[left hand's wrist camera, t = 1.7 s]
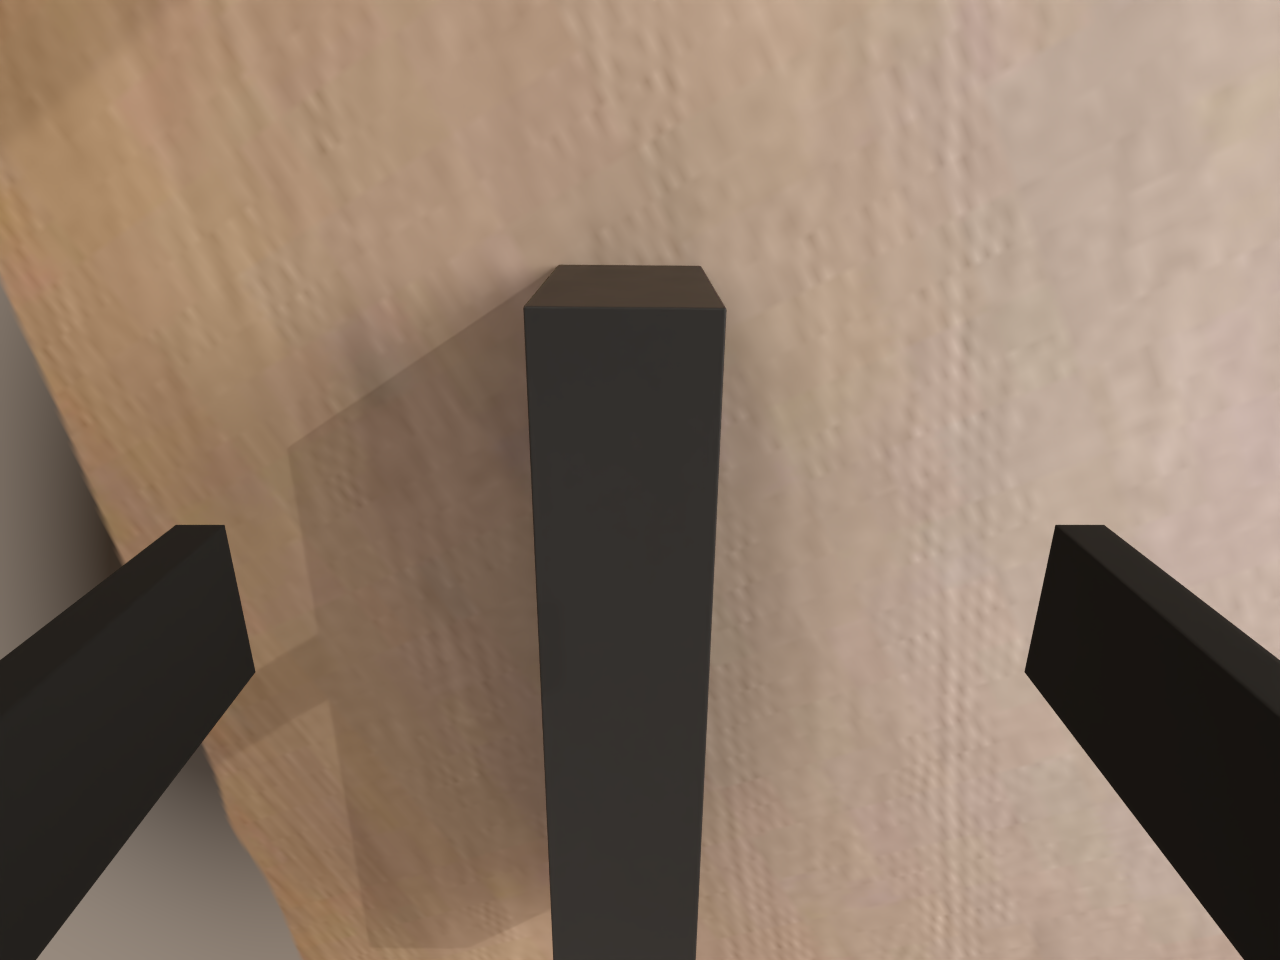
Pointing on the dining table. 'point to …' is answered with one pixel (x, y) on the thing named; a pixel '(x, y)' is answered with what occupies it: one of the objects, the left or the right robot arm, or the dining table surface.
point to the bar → (624, 594)
